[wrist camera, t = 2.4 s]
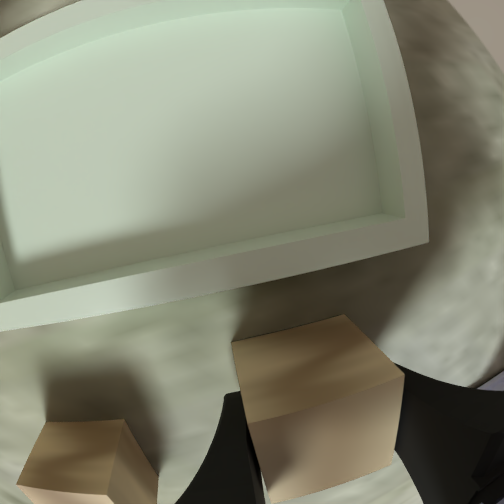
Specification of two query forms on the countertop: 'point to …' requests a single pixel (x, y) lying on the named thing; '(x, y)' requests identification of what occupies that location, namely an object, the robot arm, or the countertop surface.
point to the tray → (198, 150)
